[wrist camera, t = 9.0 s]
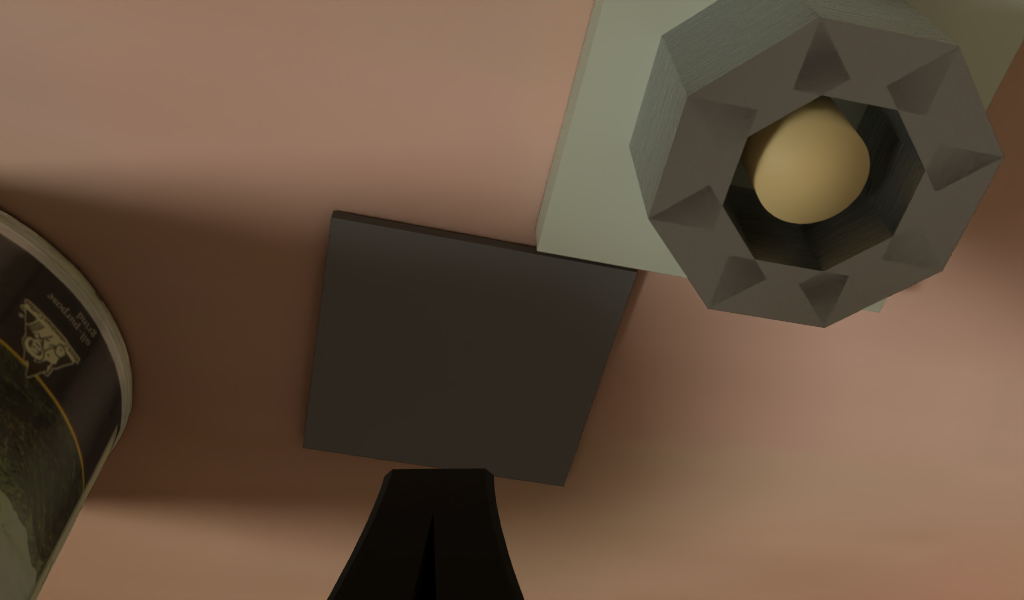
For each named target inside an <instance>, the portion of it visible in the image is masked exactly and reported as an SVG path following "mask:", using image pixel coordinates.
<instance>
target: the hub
mask: <svg viewBox="0 0 1024 600" xmlns="http://www.w3.org/2000/svg"><path fill="white" fill-rule="evenodd" d="M716 1H718V0H596V1H595V4H594V8H593V12H592V16H591V19H590V23H589V27H588V31H587V35H586V38H585V42H584V46H583V50H582V54H581V57H580V61H579V65H578V69H577V73H576V76H575V80H574V84H573V88H572V91H571V95H570V99H569V103H568V107H567V110H566V114H565V118H564V122H563V126H562V129H561V133H560V137H559V141H558V145H557V148H556V152H555V156H554V160H553V163H552V167H551V171H550V175H549V179H548V182H547V186H546V190H545V194H544V198H543V201H542V205H541V209H540V213H539V217H538V220H537V224H536V244H537V251H540V252H546V253H551V254H557V255H563V256H568V257H574V258H579V259H585V260H590V261H596V262H601V263H607V264H612V265H618V266H623V267H629V268H635V269H640V270H646V271H651V272H657V273H662V274H668V275H673V276H679V277H684V278H687V276H686V275H685V273H684V272H683V270H682V269H681V267H680V266H679V264H678V263H677V261H676V260H675V258H674V257H673V255H672V254H671V252H670V251H669V249H668V248H667V246H666V245H665V244H664V242H663V241H662V239H661V238H660V236H659V235H658V233H657V232H656V230H655V229H654V227H653V226H652V224H651V223H650V221H649V220H648V217H647V213H646V209H645V205H644V201H643V198H642V194H641V190H640V186H639V182H638V179H637V175H636V171H635V167H634V163H633V160H632V156H631V152H630V148H629V144H630V141H631V138H632V134H633V131H634V127H635V124H636V121H637V117H638V114H639V111H640V107H641V104H642V100H643V97H644V94H645V90H646V87H647V83H648V80H649V77H650V73H651V70H652V66H653V63H654V60H655V56H656V53H657V49H658V46H659V43H660V39H661V36H662V35H663V34H665V33H666V32H668V31H669V30H671V29H673V28H674V27H676V26H678V25H679V24H681V23H682V22H684V21H686V20H687V19H689V18H690V17H692V16H694V15H695V14H697V13H698V12H700V11H702V10H703V9H705V8H706V7H708V6H710V5H711V4H713V3H715V2H716ZM906 1H907V2H908V3H909V4H910V5H911V6H913V7H914V8H915V9H916V10H917V11H919V12H920V13H921V14H922V15H923V16H924V17H926V18H927V19H928V20H929V21H930V22H932V23H933V24H934V25H935V26H936V27H938V28H939V29H940V30H941V31H942V32H943V33H945V34H946V35H947V36H948V37H949V38H951V39H952V40H953V41H954V42H955V43H957V44H958V45H959V47H960V49H961V52H962V54H963V56H964V59H965V61H966V64H967V66H968V69H969V71H970V74H971V76H972V79H973V81H974V84H975V86H976V89H977V91H978V94H979V96H980V98H981V101H982V103H983V106H984V108H985V111H986V110H987V108H988V106H989V104H990V103H991V101H992V99H993V97H994V95H995V93H996V91H997V89H998V87H999V86H1000V84H1001V82H1002V80H1003V78H1004V76H1005V74H1006V72H1007V70H1008V69H1009V67H1010V65H1011V63H1012V61H1013V59H1014V57H1015V55H1016V53H1017V52H1018V50H1019V48H1020V46H1021V44H1022V42H1023V40H1024V0H906ZM867 106H868V104H864V103H859V102H854V101H849V100H844V99H838V98H833V97H828V96H823V95H821V96H819V97H818V98H816V99H814V100H812V101H811V102H809V103H807V104H805V105H804V106H802V107H800V108H798V109H797V110H795V111H793V112H791V113H789V114H788V115H786V116H784V117H782V118H781V119H779V120H777V121H775V122H774V123H772V124H770V125H768V126H766V127H765V128H763V129H761V130H759V131H758V132H756V133H754V134H752V135H751V136H749V137H748V138H747V140H746V143H745V146H744V148H743V151H742V154H741V157H740V159H739V162H738V165H737V167H736V170H735V173H734V175H733V178H732V181H731V184H730V185H733V186H739V187H744V188H750V189H755V191H756V194H757V196H758V198H759V200H760V202H761V203H762V205H763V206H764V208H765V209H766V210H767V211H768V212H769V213H771V214H772V215H773V216H775V217H777V218H778V219H781V220H783V221H786V222H790V223H797V224H807V223H815V222H819V221H823V220H826V219H828V218H830V217H833V216H835V215H836V214H838V213H840V212H841V211H843V210H844V209H846V208H847V207H848V206H849V205H850V204H851V203H852V202H853V201H854V200H855V199H856V198H857V197H858V195H859V194H860V193H861V191H862V189H863V188H864V186H865V183H866V181H867V178H868V175H869V169H870V158H869V153H868V150H867V147H866V145H865V143H864V142H863V140H862V139H861V137H860V136H859V135H858V133H857V132H856V131H857V129H858V126H859V124H860V122H861V119H862V117H863V115H864V113H865V110H866V108H867ZM886 299H887V298H885V299H883V300H881V301H879V302H877V303H875V304H873V305H871V306H869V307H866V308H864V309H862V310H867V311H873V312H878V313H879V312H880V310H881V308H882V307H883V305H884V303H885V301H886Z"/></svg>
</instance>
